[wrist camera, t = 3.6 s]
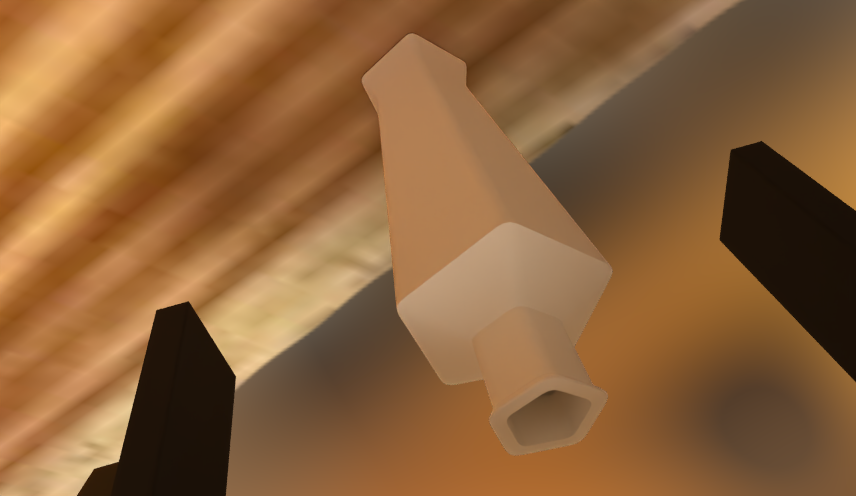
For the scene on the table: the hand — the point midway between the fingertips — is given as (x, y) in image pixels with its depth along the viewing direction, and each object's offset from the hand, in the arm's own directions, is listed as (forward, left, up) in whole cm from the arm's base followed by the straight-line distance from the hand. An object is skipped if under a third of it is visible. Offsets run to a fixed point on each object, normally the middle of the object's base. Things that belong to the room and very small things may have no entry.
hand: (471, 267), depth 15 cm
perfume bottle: (0, 0, -10) cm, 10 cm away
